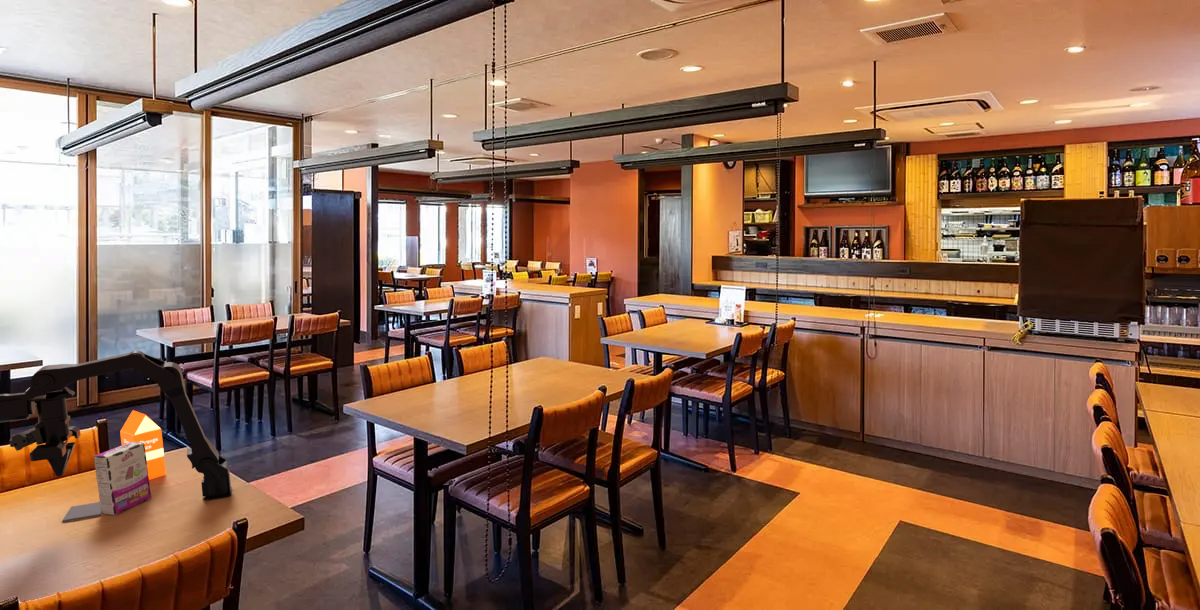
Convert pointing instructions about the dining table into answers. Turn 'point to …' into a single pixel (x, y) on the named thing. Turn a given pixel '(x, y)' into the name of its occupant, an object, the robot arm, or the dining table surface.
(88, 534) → the dining table surface
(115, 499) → the candy bar box
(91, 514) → the mat
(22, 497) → the dining table surface
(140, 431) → the orange juice
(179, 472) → the dining table surface
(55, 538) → the dining table surface
